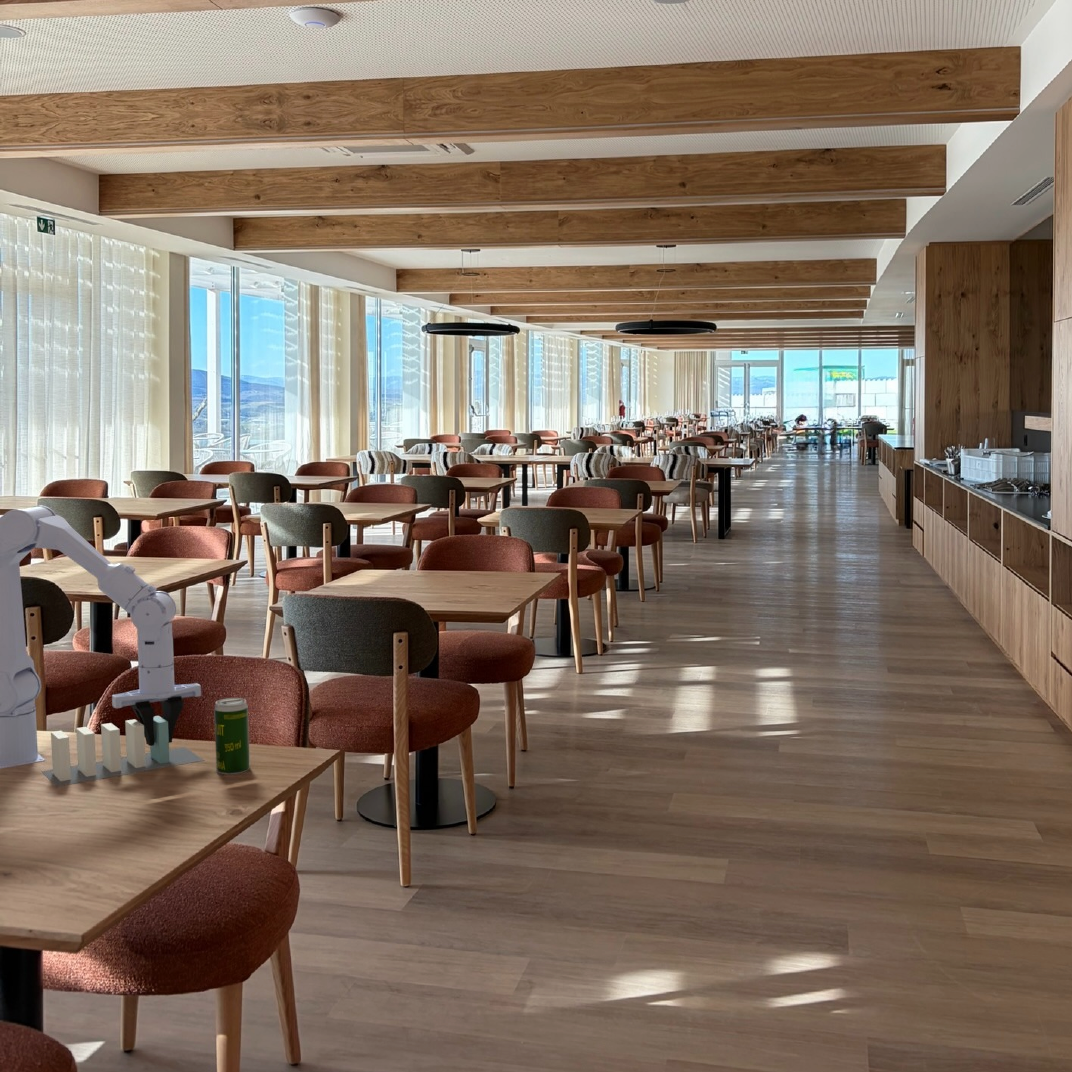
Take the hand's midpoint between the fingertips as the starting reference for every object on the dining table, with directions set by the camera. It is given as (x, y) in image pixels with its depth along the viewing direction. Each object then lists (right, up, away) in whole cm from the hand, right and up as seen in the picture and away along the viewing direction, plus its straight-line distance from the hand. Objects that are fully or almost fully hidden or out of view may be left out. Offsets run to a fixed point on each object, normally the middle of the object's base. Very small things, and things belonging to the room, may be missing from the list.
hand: (159, 742), depth 200 cm
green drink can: (+14, -4, -6) cm, 16 cm away
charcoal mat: (-5, -4, -3) cm, 7 cm away
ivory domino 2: (-10, -4, -7) cm, 12 cm away
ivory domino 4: (-3, -3, -2) cm, 5 cm away
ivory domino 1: (-13, -4, -9) cm, 16 cm away
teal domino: (0, -3, 0) cm, 3 cm away
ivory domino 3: (-7, -3, -4) cm, 9 cm away
